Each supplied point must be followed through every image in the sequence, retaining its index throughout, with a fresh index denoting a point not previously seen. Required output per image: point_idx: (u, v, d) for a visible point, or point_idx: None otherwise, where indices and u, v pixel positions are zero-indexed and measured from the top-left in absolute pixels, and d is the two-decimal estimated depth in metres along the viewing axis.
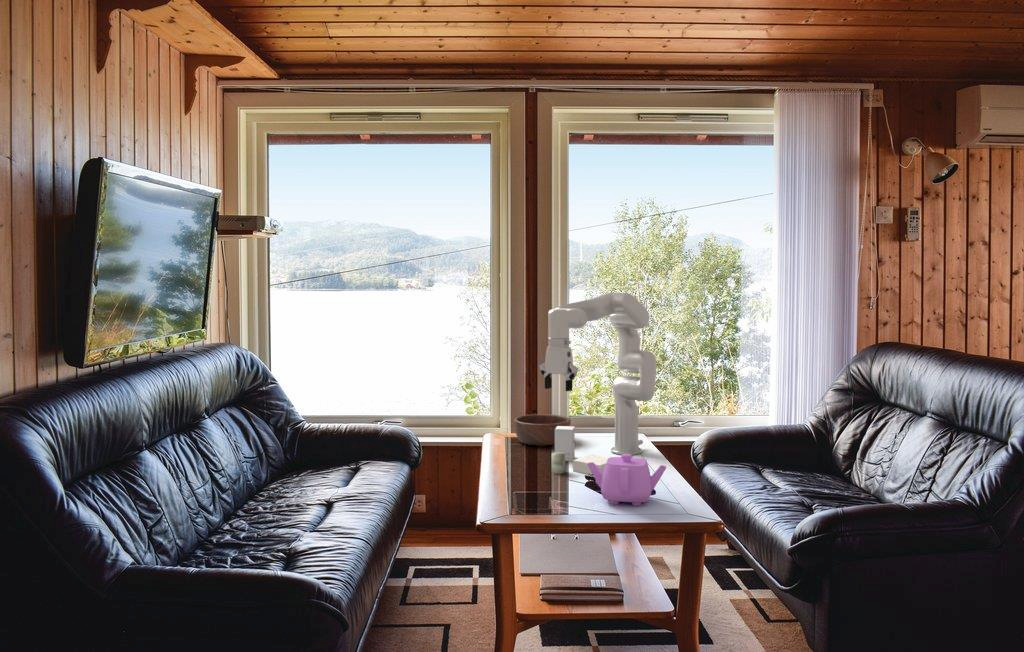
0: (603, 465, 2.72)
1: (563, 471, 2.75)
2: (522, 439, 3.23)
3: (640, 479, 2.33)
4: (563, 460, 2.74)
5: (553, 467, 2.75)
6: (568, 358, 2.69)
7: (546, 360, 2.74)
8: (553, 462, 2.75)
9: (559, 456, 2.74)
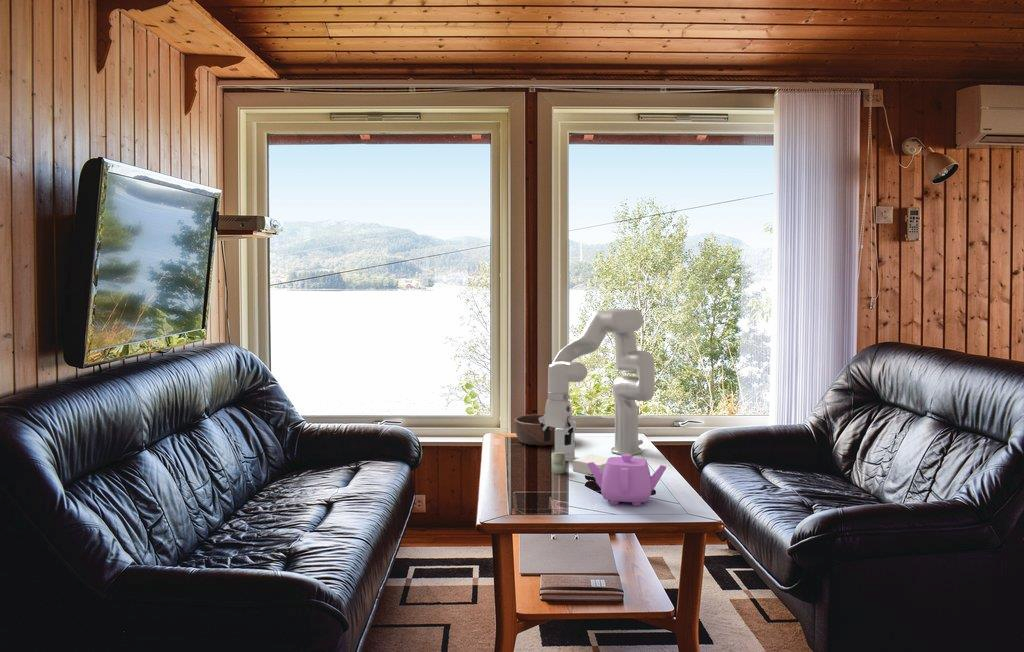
0: (603, 465, 2.72)
1: (563, 471, 2.75)
2: (522, 439, 3.23)
3: (640, 479, 2.33)
4: (563, 460, 2.74)
5: (553, 467, 2.75)
6: (567, 412, 2.72)
7: (545, 413, 2.76)
8: (553, 462, 2.75)
9: (559, 456, 2.74)
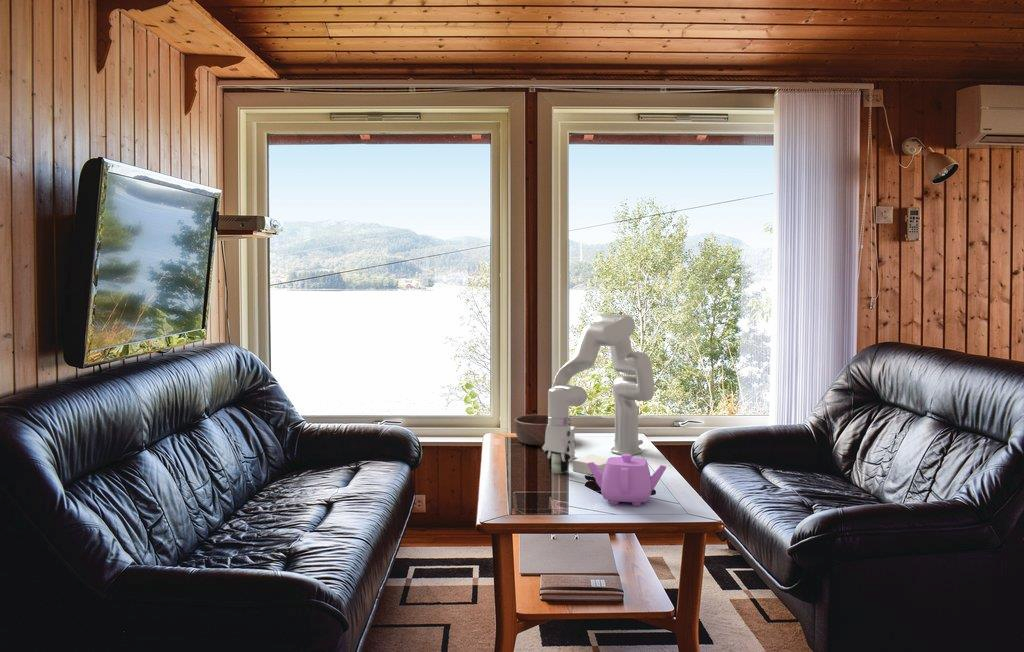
0: (603, 465, 2.72)
1: None
2: (522, 439, 3.23)
3: (640, 479, 2.33)
4: None
5: (553, 467, 2.75)
6: (568, 437, 2.72)
7: (546, 438, 2.77)
8: (553, 462, 2.75)
9: (559, 456, 2.74)
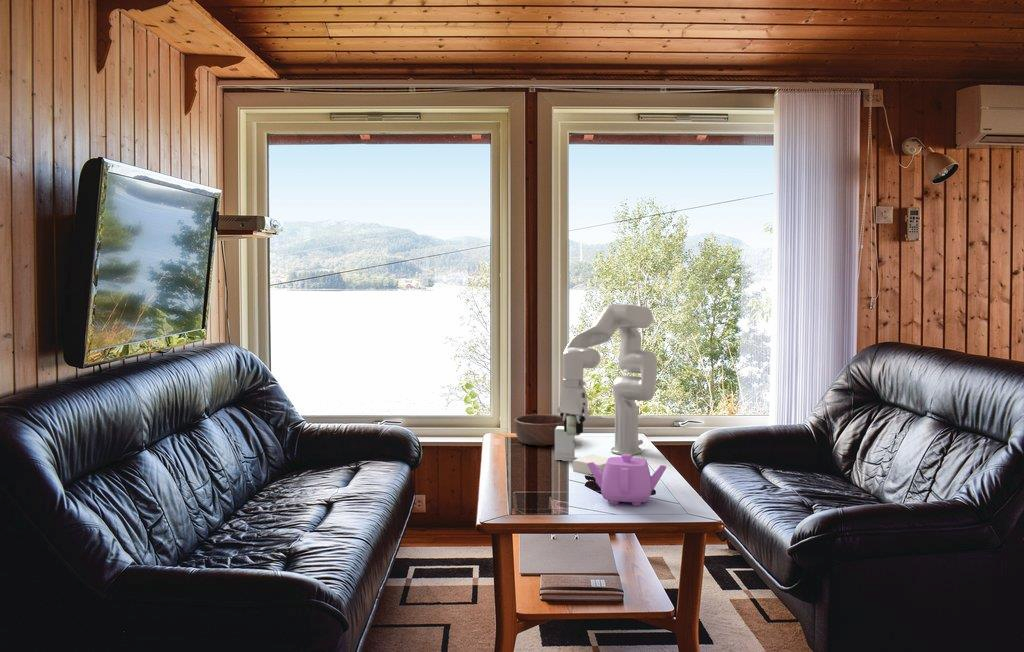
0: (603, 465, 2.72)
1: None
2: (522, 439, 3.23)
3: (640, 479, 2.33)
4: (577, 422, 2.75)
5: (568, 429, 2.75)
6: (583, 399, 2.72)
7: (561, 400, 2.77)
8: (568, 424, 2.75)
9: (574, 418, 2.74)
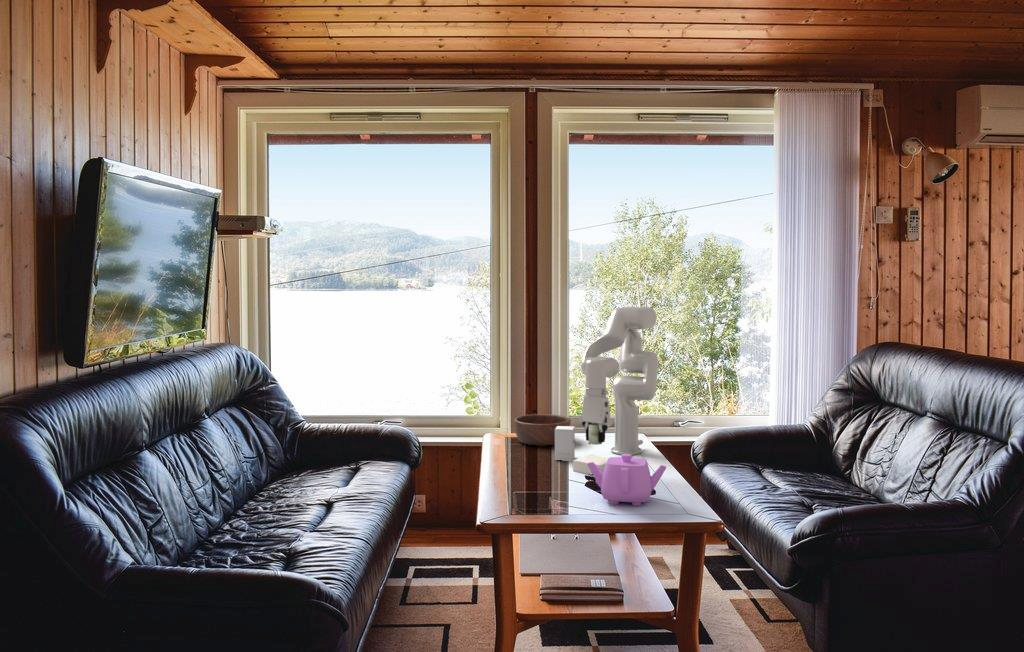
0: (603, 465, 2.72)
1: None
2: (522, 439, 3.23)
3: (640, 479, 2.33)
4: None
5: (590, 438, 2.76)
6: (605, 408, 2.74)
7: (583, 409, 2.78)
8: (590, 433, 2.76)
9: (596, 427, 2.75)
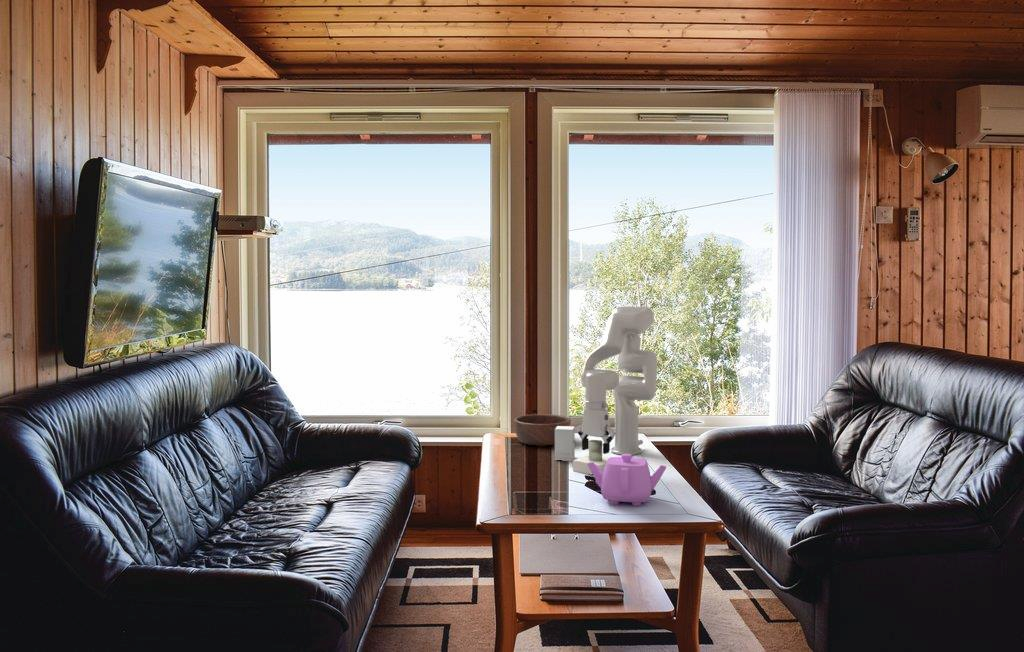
0: (603, 465, 2.72)
1: (600, 459, 2.77)
2: (522, 439, 3.23)
3: (640, 479, 2.33)
4: (600, 448, 2.76)
5: (590, 455, 2.77)
6: (605, 421, 2.74)
7: (583, 422, 2.79)
8: (590, 450, 2.77)
9: (597, 444, 2.76)
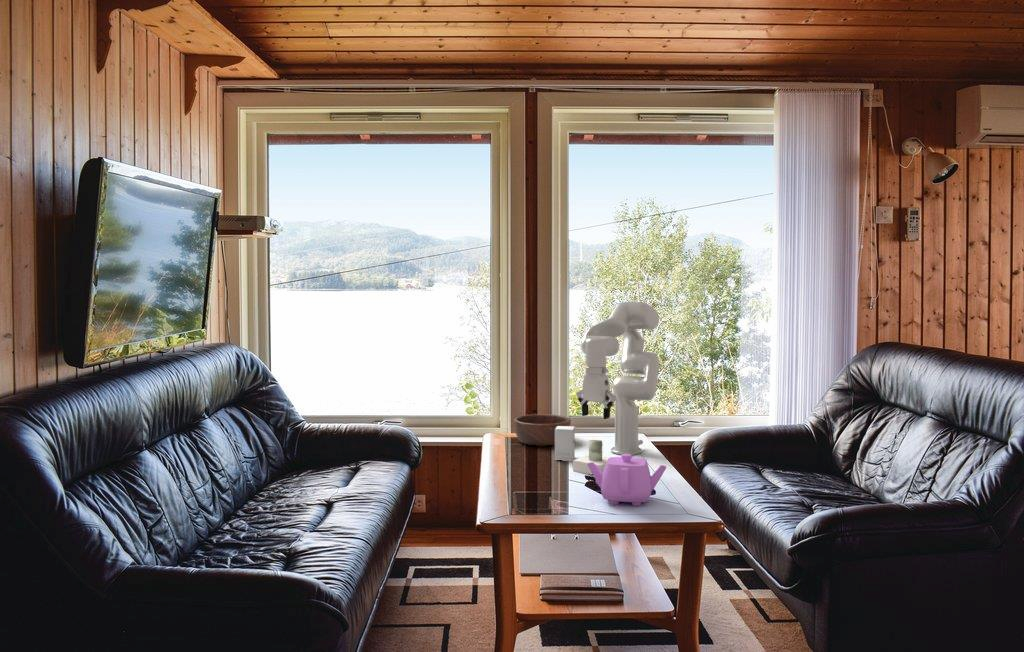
0: (603, 465, 2.72)
1: (600, 459, 2.77)
2: (522, 439, 3.23)
3: (640, 479, 2.33)
4: (600, 448, 2.76)
5: (590, 455, 2.77)
6: (606, 386, 2.73)
7: (583, 388, 2.78)
8: (590, 450, 2.77)
9: (597, 444, 2.76)
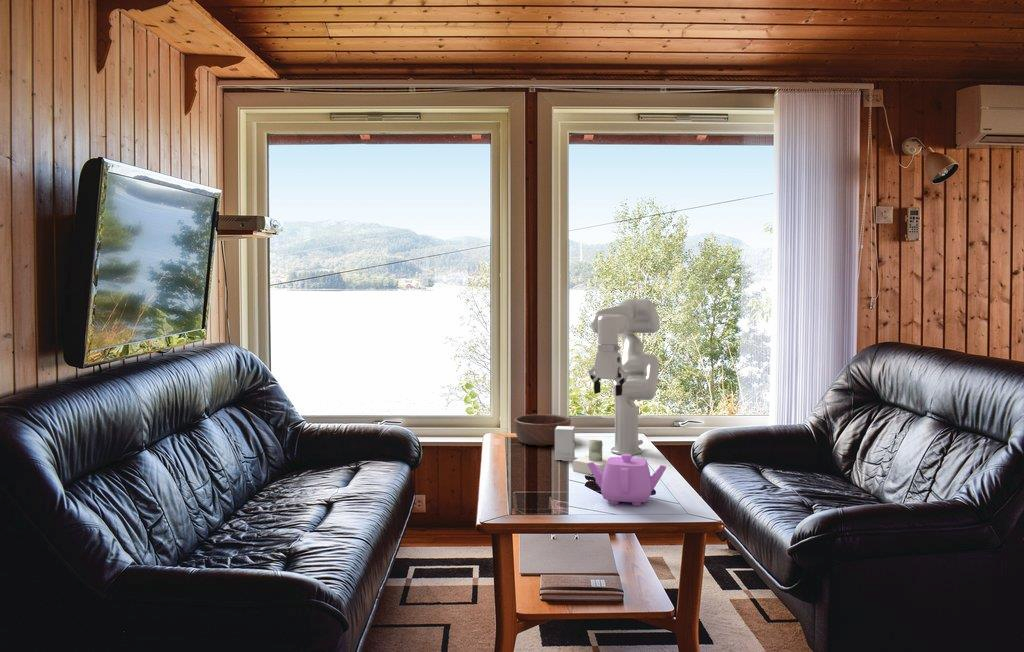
0: (603, 465, 2.72)
1: (600, 459, 2.77)
2: (522, 439, 3.23)
3: (640, 479, 2.33)
4: (600, 448, 2.76)
5: (590, 455, 2.77)
6: (618, 363, 2.75)
7: (596, 365, 2.80)
8: (590, 450, 2.77)
9: (597, 444, 2.76)
